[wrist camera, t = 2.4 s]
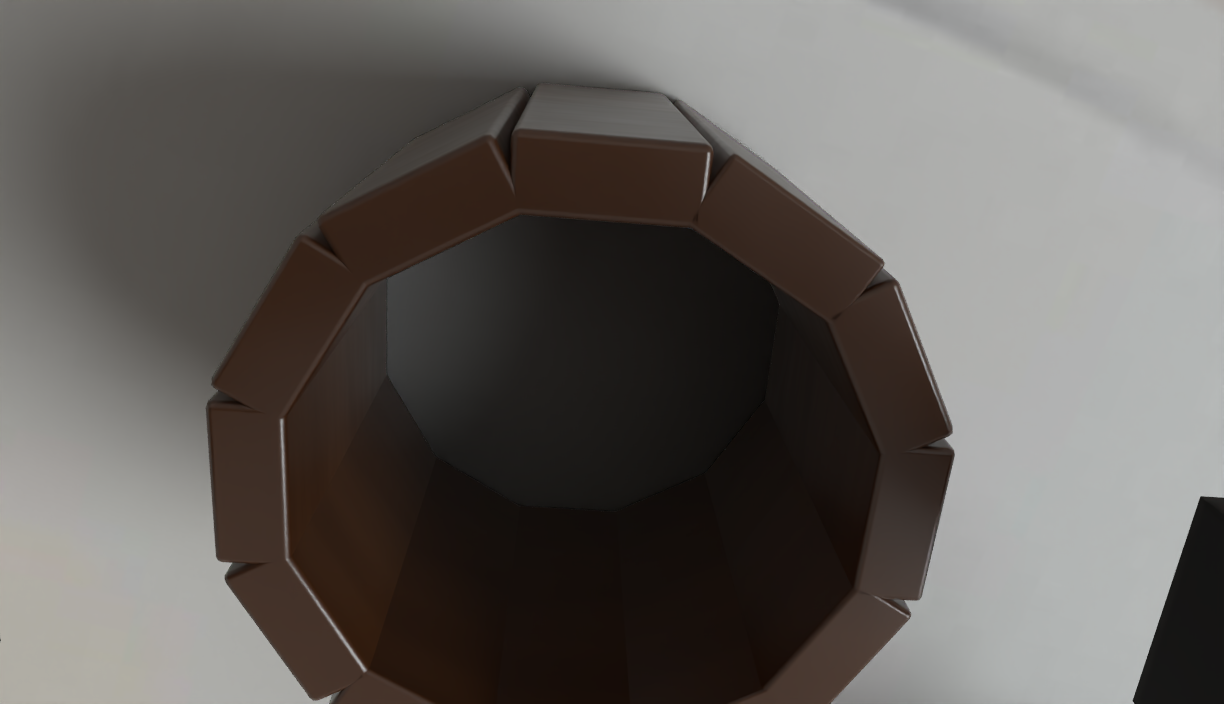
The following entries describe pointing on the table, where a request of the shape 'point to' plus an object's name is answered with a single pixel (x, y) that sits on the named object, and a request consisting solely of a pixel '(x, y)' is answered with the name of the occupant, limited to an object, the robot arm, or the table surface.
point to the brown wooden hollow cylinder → (575, 538)
